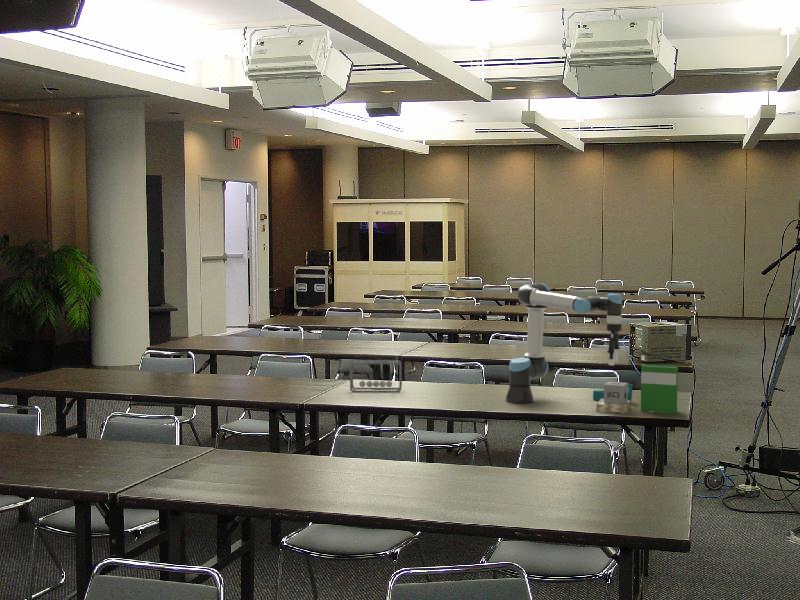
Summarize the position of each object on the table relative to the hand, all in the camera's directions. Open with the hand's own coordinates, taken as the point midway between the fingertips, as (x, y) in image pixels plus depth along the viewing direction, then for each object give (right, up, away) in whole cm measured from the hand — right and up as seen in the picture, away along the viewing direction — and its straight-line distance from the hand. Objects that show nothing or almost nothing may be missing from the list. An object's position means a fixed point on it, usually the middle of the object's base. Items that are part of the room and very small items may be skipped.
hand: (613, 363), depth 491 cm
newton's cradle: (-127, -21, +59) cm, 141 cm away
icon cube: (+1, -21, +1) cm, 21 cm away
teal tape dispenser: (+5, -23, +25) cm, 34 cm away
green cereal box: (+23, -25, -3) cm, 34 cm away
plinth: (0, -25, +2) cm, 25 cm away
